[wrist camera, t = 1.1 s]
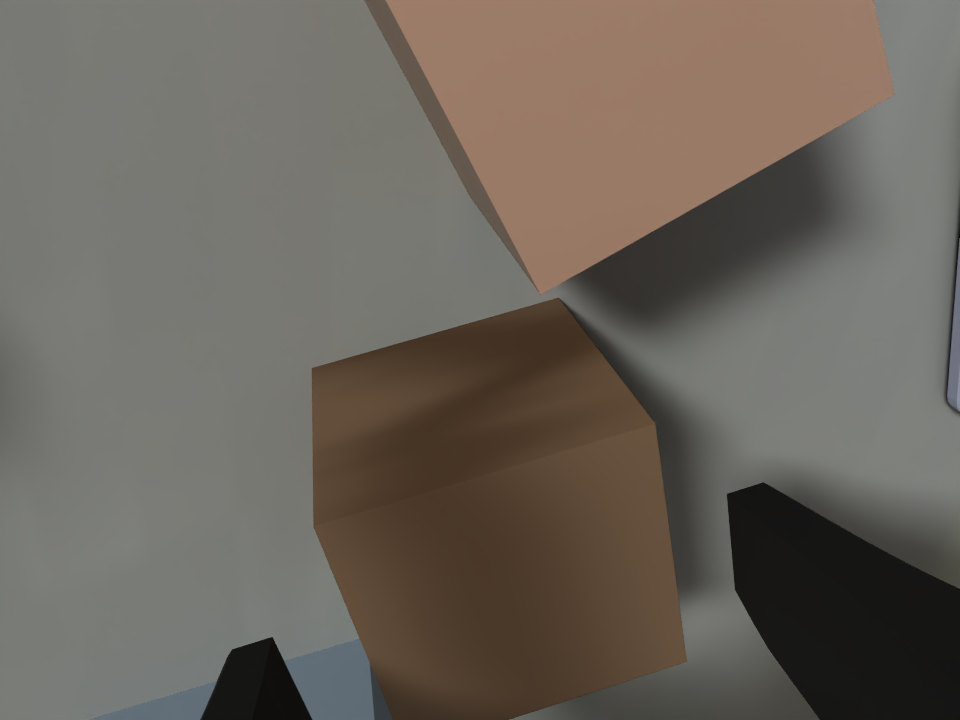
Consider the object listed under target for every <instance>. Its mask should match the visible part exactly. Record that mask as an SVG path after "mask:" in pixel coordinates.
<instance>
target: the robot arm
mask: <svg viewBox="0 0 960 720" xmlns="http://www.w3.org/2000/svg"><path fill="white" fill-rule="evenodd" d="M947 397H948V403H949V404H950V405H951V406H952V407H953V408H955V409H956V410H958V411H959V412H960V240H959V253H958V265H957V278H956V291H955V304H954V316H953V329H952V342H951V355H950V367H949V380H948V393H947ZM727 500H728V512H729V524H730V536H731V548H732V559H733V571H734V583H735V591H736V592H737V594H738V596H739V598H740V600H741V601H742V603H743V605H744V607H745V609H746V610H747V612H748V614H749V616H750V618H751V620H752V621H753V623H754V625H755V627H756V628H757V630H758V632H759V633H760V635H761V637H762V639H763V640H764V642H765V644H766V645H767V647H768V649H769V650H770V652H771V653H772V654H773V656H774V657H775V659H776V660H777V661H778V663H779V664H780V665H781V667H782V668H783V670H784V671H785V672H786V674H787V675H788V677H789V678H790V679H791V681H792V682H793V683H794V685H795V686H796V688H797V689H798V690H799V692H800V693H801V694H802V696H803V697H804V698H805V700H806V701H807V703H808V704H809V705H810V707H811V708H812V709H813V711H814V712H815V713H816V715H817V716H818V717H819V719H820V720H960V589H958V588H956V587H954V586H952V585H950V584H948V583H946V582H944V581H942V580H940V579H938V578H936V577H933V576H931V575H929V574H927V573H925V572H923V571H921V570H919V569H917V568H915V567H913V566H911V565H909V564H907V563H905V562H903V561H901V560H900V559H898V558H896V557H894V556H892V555H890V554H888V553H887V552H885V551H883V550H881V549H879V548H877V547H875V546H874V545H872V544H870V543H868V542H866V541H864V540H863V539H861V538H859V537H857V536H855V535H854V534H852V533H850V532H848V531H847V530H845V529H843V528H841V527H840V526H838V525H836V524H834V523H833V522H831V521H829V520H827V519H826V518H824V517H822V516H820V515H819V514H817V513H815V512H814V511H812V510H810V509H808V508H807V507H805V506H803V505H802V504H800V503H798V502H797V501H795V500H793V499H791V498H790V497H788V496H786V495H784V494H783V493H781V492H779V491H778V490H776V489H774V488H772V487H771V486H769V485H767V484H765V483H760V484H757V485H754V486H751V487H748V488H744V489H741V490H738V491H735V492H732V493H729V494H727ZM200 720H312V718H311V716H310V713H309V711H308V709H307V707H306V705H305V703H304V701H303V699H302V697H301V695H300V693H299V691H298V689H297V687H296V685H295V683H294V681H293V679H292V676H291V674H290V672H289V670H288V668H287V666H286V664H285V662H284V660H283V658H282V656H281V654H280V652H279V650H278V648H277V646H276V644H275V641H274V639H273V637H271V638H267V639H264V640H261V641H258V642H255V643H252V644H248V645H245V646H242V647H239V648H236V649H232V651H231V652H230V654H229V655H228V657H227V659H226V662H225V664H224V666H223V669H222V671H221V673H220V676H219V678H218V680H217V683H216V685H215V687H214V690H213V692H212V694H211V696H210V699H209V701H208V703H207V706H206V708H205V710H204V713H203V715H202V717H201V719H200Z"/></svg>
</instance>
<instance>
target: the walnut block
mask: <svg viewBox="0 0 960 720" xmlns="http://www.w3.org/2000/svg"><path fill="white" fill-rule="evenodd" d="M312 424H313V515H314V529H315V531H316V534H317V536H318V538H319V541H320V543H321V546H322V548H323V551H324V553H325V555H326V558H327V560H328V563H329V565H330V568H331V570H332V573H333V575H334V577H335V580H336V582H337V585H338V587H339V590H340V592H341V594H342V597H343V599H344V602H345V604H346V607H347V609H348V611H349V614H350V616H351V619H352V621H353V624H354V626H355V628H356V631H357V633H358V636H359V638H360V641H361V643H362V645H363V648H364V650H365V653H366V655H367V658H368V660H369V662H370V665H371V667H372V670H373V672H374V675H375V677H376V679H377V682H378V684H379V687H380V689H381V692H382V694H383V696H384V699H385V701H386V704H387V706H388V709H389V711H390V714H391V716H392V718H393V720H509V719H512V718H515V717H518V716H521V715H524V714H527V713H531V712H534V711H537V710H540V709H543V708H546V707H549V706H552V705H555V704H558V703H561V702H564V701H567V700H571V699H574V698H577V697H580V696H583V695H586V694H589V693H592V692H595V691H598V690H601V689H604V688H607V687H611V686H614V685H617V684H620V683H623V682H626V681H629V680H632V679H635V678H638V677H641V676H644V675H647V674H651V673H654V672H657V671H660V670H663V669H666V668H669V667H672V666H675V665H678V664H681V663H684V662H687V659H686V651H685V644H684V636H683V629H682V621H681V614H680V606H679V598H678V591H677V583H676V576H675V568H674V561H673V553H672V545H671V538H670V530H669V523H668V515H667V508H666V500H665V493H664V485H663V477H662V470H661V462H660V455H659V447H658V440H657V432H656V425H655V423H654V421H653V420H652V419H651V417H650V416H649V415H648V413H647V412H646V411H645V410H644V408H643V407H642V406H641V404H640V403H639V402H638V400H637V399H636V398H635V397H634V395H633V394H632V393H631V391H630V390H629V389H628V387H627V386H626V385H625V384H624V382H623V381H622V380H621V378H620V377H619V376H618V374H617V373H616V372H615V371H614V369H613V368H612V367H611V365H610V364H609V363H608V361H607V360H606V359H605V358H604V356H603V355H602V354H601V352H600V351H599V350H598V348H597V347H596V346H595V344H594V343H593V342H592V341H591V339H590V338H589V337H588V335H587V334H586V333H585V331H584V330H583V329H582V328H581V326H580V325H579V324H578V322H577V321H576V320H575V318H574V317H573V316H572V315H571V313H570V312H569V311H568V309H567V308H566V307H565V305H564V304H563V303H562V302H561V300H560V299H559V298H556V299H553V300H549V301H546V302H542V303H539V304H535V305H532V306H528V307H525V308H521V309H518V310H514V311H511V312H507V313H504V314H500V315H497V316H493V317H490V318H486V319H483V320H479V321H476V322H472V323H469V324H465V325H462V326H458V327H455V328H451V329H448V330H444V331H441V332H437V333H434V334H430V335H427V336H423V337H420V338H416V339H413V340H409V341H406V342H402V343H399V344H395V345H392V346H388V347H385V348H381V349H378V350H374V351H371V352H367V353H364V354H360V355H357V356H353V357H350V358H346V359H343V360H339V361H336V362H332V363H329V364H325V365H322V366H318V367H315V368H312Z"/></svg>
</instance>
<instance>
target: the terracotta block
mask: <svg viewBox="0 0 960 720" xmlns="http://www.w3.org/2000/svg"><path fill="white" fill-rule="evenodd" d="M364 1H365V3H366V5H367V6H368V8H369V10H370V12H371V14H372V16H373V18H374V19H375V21H376V23H377V25H378V27H379V29H380V31H381V32H382V34H383V36H384V38H385V40H386V42H387V44H388V45H389V47H390V49H391V51H392V53H393V55H394V57H395V58H396V60H397V62H398V64H399V66H400V68H401V70H402V71H403V73H404V75H405V77H406V79H407V81H408V83H409V84H410V86H411V88H412V90H413V92H414V94H415V96H416V97H417V99H418V101H419V103H420V105H421V107H422V109H423V110H424V112H425V114H426V116H427V118H428V120H429V122H430V123H431V125H432V127H433V129H434V131H435V133H436V135H437V136H438V138H439V140H440V142H441V144H442V146H443V148H444V149H445V151H446V153H447V155H448V157H449V159H450V161H451V162H452V164H453V166H454V168H455V170H456V172H457V174H458V175H459V177H460V179H461V181H462V183H463V185H464V187H465V188H466V190H467V192H468V194H469V196H470V197H471V199H472V200H473V202H474V203H475V204H476V206H477V207H478V209H479V210H480V211H481V213H482V214H483V216H484V217H485V218H486V220H487V221H488V223H489V224H490V225H491V227H492V228H493V230H494V231H495V232H496V234H497V235H498V236H499V238H500V239H501V241H502V242H503V243H504V245H505V246H506V248H507V249H508V250H509V252H510V253H511V255H512V256H513V257H514V259H515V260H516V262H517V263H518V264H519V266H520V267H521V269H522V270H523V271H524V273H525V274H526V275H527V277H528V278H529V280H530V281H531V282H532V284H533V285H534V287H535V288H536V289H537V291H538V292H539V294H540V295H541V294H543V293H545V292H547V291H548V290H550V289H552V288H554V287H555V286H557V285H559V284H561V283H562V282H564V281H566V280H568V279H569V278H571V277H573V276H575V275H577V274H578V273H580V272H582V271H584V270H585V269H587V268H589V267H591V266H592V265H594V264H596V263H598V262H600V261H601V260H603V259H605V258H607V257H608V256H610V255H612V254H614V253H615V252H617V251H619V250H621V249H623V248H624V247H626V246H628V245H630V244H631V243H633V242H635V241H637V240H638V239H640V238H642V237H644V236H646V235H647V234H649V233H651V232H653V231H654V230H656V229H658V228H660V227H661V226H663V225H665V224H667V223H669V222H670V221H672V220H674V219H676V218H677V217H679V216H681V215H683V214H684V213H686V212H688V211H690V210H692V209H693V208H695V207H697V206H699V205H700V204H702V203H704V202H706V201H707V200H709V199H711V198H713V197H714V196H716V195H718V194H720V193H722V192H723V191H725V190H727V189H729V188H730V187H732V186H734V185H736V184H737V183H739V182H741V181H743V180H745V179H746V178H748V177H750V176H752V175H753V174H755V173H757V172H759V171H760V170H762V169H764V168H766V167H768V166H769V165H771V164H773V163H775V162H776V161H778V160H780V159H782V158H783V157H785V156H787V155H789V154H791V153H792V152H794V151H796V150H798V149H799V148H801V147H803V146H805V145H806V144H808V143H810V142H812V141H814V140H815V139H817V138H819V137H821V136H822V135H824V134H826V133H828V132H829V131H831V130H833V129H835V128H837V127H838V126H840V125H842V124H844V123H845V122H847V121H849V120H851V119H852V118H854V117H856V116H858V115H859V114H861V113H863V112H865V111H867V110H868V109H870V108H872V107H874V106H875V105H877V104H879V103H881V102H882V101H884V100H886V99H888V98H890V97H891V96H893V95H895V94H894V90H893V85H892V81H891V76H890V72H889V68H888V63H887V59H886V54H885V50H884V45H883V41H882V36H881V32H880V27H879V23H878V18H877V14H876V10H875V5H874V1H873V0H364Z"/></svg>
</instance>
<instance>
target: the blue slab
mask: <svg viewBox="0 0 960 720" xmlns="http://www.w3.org/2000/svg"><path fill="white" fill-rule="evenodd" d="M284 662H285V664H286V666H287V668H288V670H289V672H290V674H291V676H292V679H293V681H294V683H295V685H296V687H297V689H298V691H299V693H300V695H301V697H302V699H303V701H304V703H305V705H306V707H307V709H308V711H309V713H310V716H311V718H312V720H393V718H392V716H391V714H390V711H389V709H388V706H387V704H386V701H385V699H384V696H383V694H382V692H381V689H380V687H379V684H378V682H377V679H376V677H375V675H374V672H373V670H372V667H371V665H370V662H369V660H368V658H367V655H366V653H365V650H364V648H363V645H362V643H361V641H360V639H357V640H354V641H351V642H347V643H344V644H341V645H337V646H334V647H331V648H327V649H324V650H321V651H317V652H314V653H311V654H307V655H304V656H301V657H297V658H294V659H291V660H287V661H284ZM216 683H217V682H214V683H210V684H207V685H204V686H200V687H197V688H194V689H190V690H187V691H184V692H180V693H177V694H173V695H170V696H167V697H163V698H160V699H157V700H153V701H150V702H147V703H143V704H140V705H137V706H133V707H130V708H127V709H123V710H120V711H117V712H113V713H110V714H107V715H103V716H100V717H97V718H93V719H90V720H200V719H201V717H202V715H203V713H204V710H205V708H206V706H207V703H208V701H209V699H210V696H211V694H212V692H213V690H214V687H215V685H216Z"/></svg>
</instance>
